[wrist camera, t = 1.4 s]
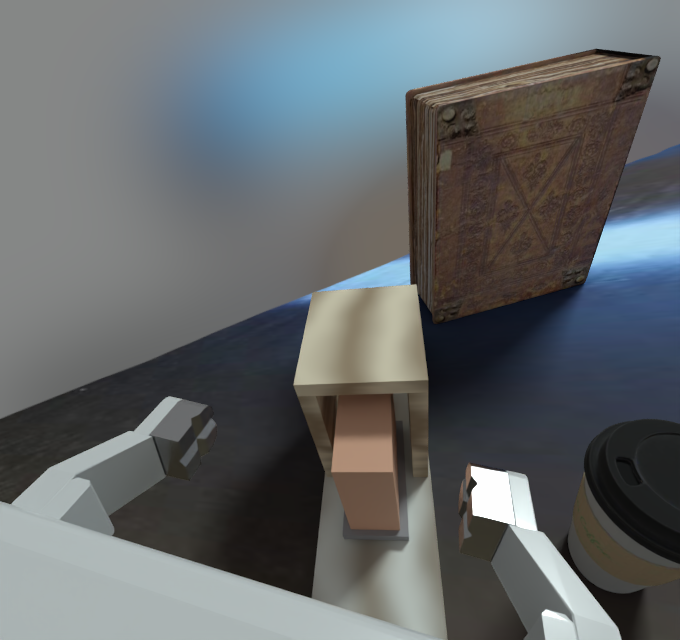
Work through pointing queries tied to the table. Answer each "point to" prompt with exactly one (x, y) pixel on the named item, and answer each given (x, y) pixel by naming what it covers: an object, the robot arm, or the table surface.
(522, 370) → the table surface
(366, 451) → the block
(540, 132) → the book
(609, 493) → the coffee cup
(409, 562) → the tunnel track
